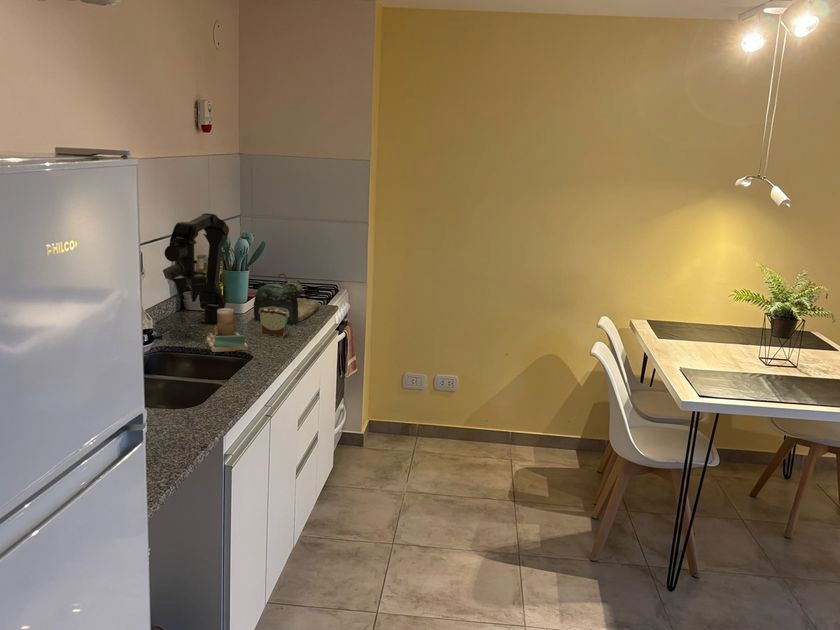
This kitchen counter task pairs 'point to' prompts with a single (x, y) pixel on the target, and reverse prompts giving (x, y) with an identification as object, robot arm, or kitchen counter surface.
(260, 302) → the ceramic cat
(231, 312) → the brown cup
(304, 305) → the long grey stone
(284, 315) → the food container
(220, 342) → the maple mount
